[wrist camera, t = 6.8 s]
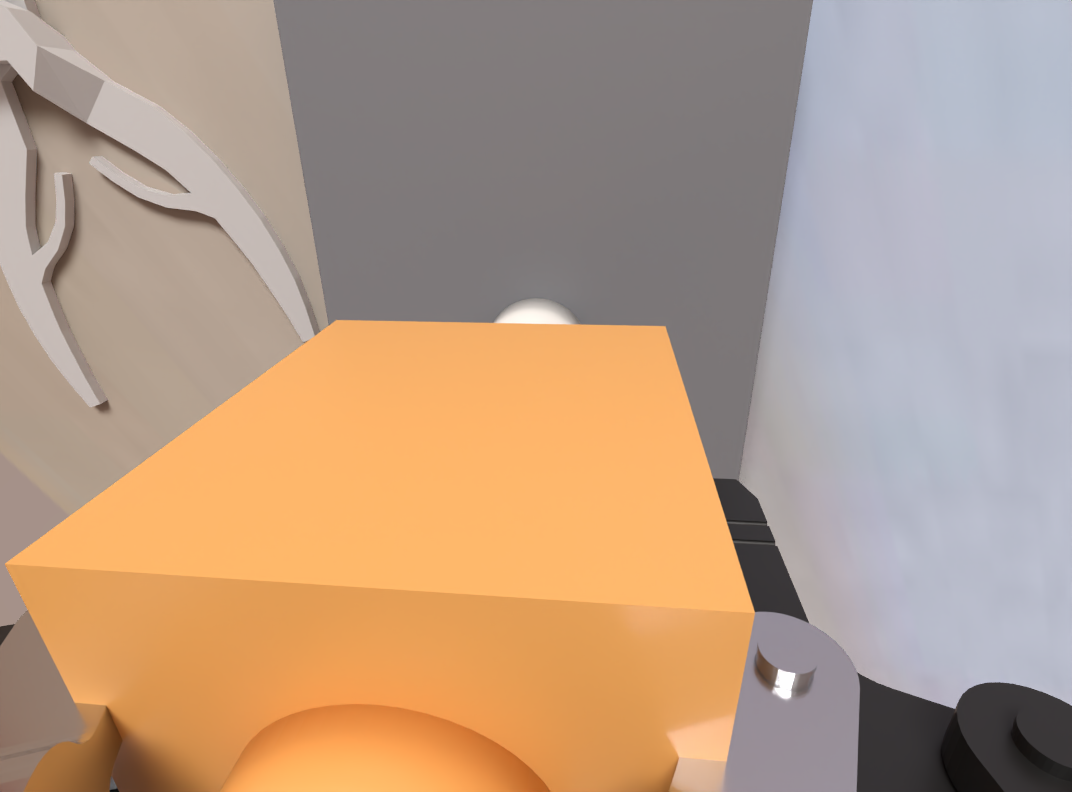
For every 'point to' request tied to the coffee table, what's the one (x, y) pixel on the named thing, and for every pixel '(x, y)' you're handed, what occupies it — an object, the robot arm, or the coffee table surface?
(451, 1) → the flat grey base plate
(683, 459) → the orange cube with dome
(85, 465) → the coffee table surface
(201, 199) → the pliers
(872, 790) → the robot arm
